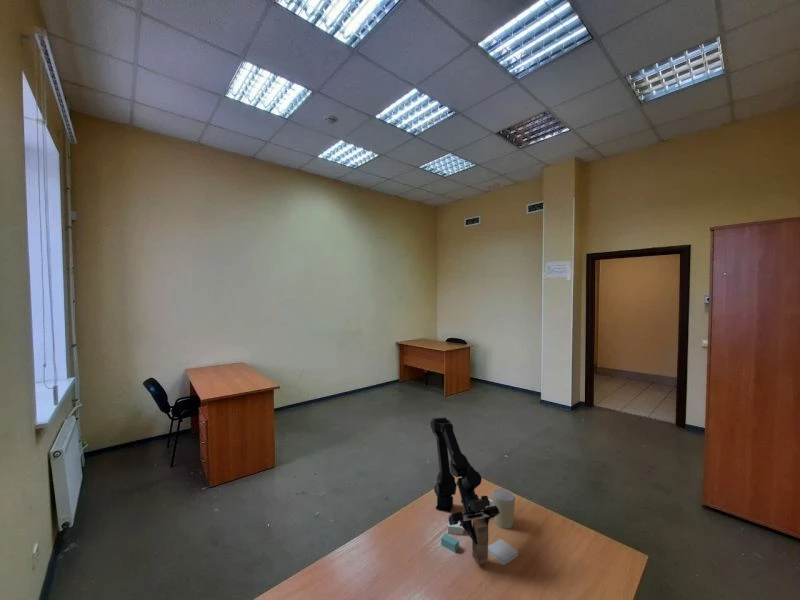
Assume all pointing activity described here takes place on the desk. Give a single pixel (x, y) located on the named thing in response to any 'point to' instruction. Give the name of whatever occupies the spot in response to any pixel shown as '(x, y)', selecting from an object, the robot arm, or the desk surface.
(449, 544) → the teal brick
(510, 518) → the coffee cup
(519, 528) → the desk surface
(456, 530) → the light grey brick
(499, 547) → the grey slab
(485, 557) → the walnut block
